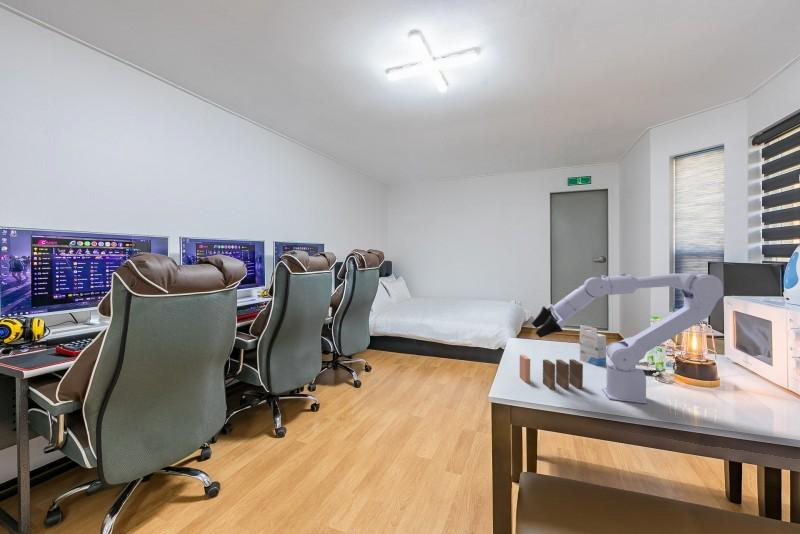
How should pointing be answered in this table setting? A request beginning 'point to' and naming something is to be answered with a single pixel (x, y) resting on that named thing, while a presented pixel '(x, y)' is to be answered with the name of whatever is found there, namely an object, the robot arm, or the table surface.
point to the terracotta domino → (525, 368)
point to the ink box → (592, 346)
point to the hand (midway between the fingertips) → (535, 330)
